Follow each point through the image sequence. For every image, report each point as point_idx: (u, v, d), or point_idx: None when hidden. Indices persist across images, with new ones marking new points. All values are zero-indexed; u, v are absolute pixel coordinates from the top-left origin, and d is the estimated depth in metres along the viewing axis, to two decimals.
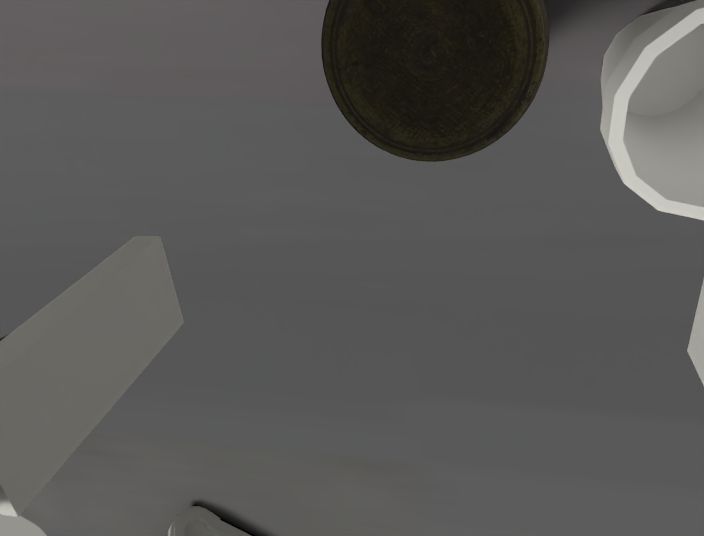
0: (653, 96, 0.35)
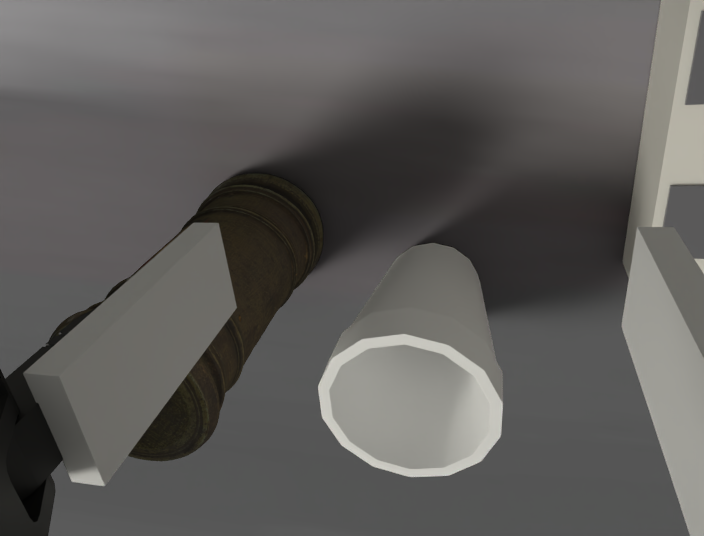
0: None
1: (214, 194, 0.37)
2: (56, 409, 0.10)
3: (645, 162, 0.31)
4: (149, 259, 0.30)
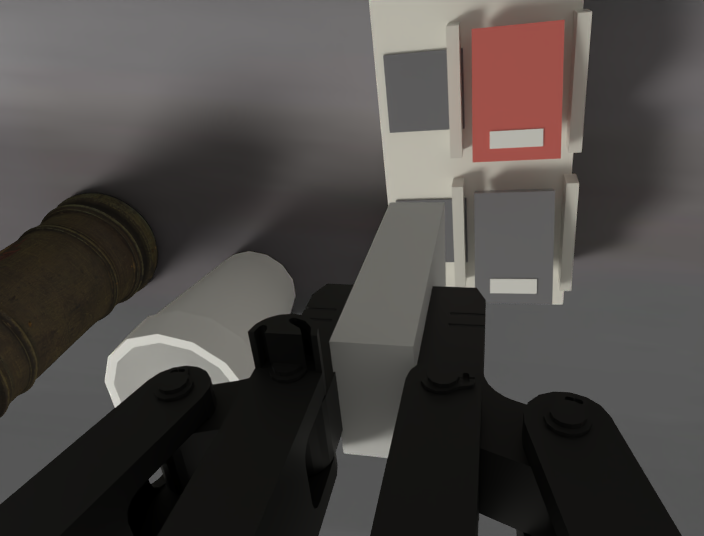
0: None
1: (49, 213, 0.42)
2: (354, 379, 0.10)
3: None
4: None
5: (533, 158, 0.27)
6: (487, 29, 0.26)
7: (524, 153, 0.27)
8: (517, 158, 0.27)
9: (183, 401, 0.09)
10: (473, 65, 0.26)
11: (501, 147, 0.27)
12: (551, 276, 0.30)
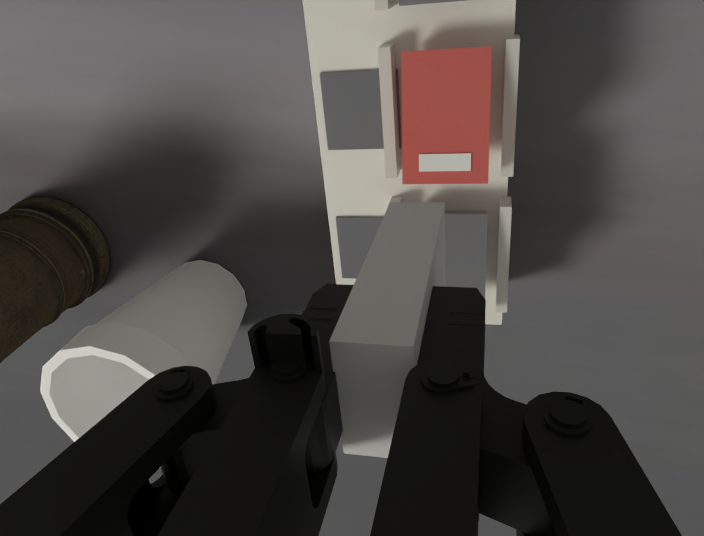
0: None
1: None
2: (354, 379, 0.10)
3: None
4: None
5: (461, 182, 0.27)
6: (416, 52, 0.26)
7: (452, 177, 0.27)
8: (446, 182, 0.27)
9: (183, 401, 0.09)
10: (403, 88, 0.26)
11: (430, 170, 0.27)
12: None
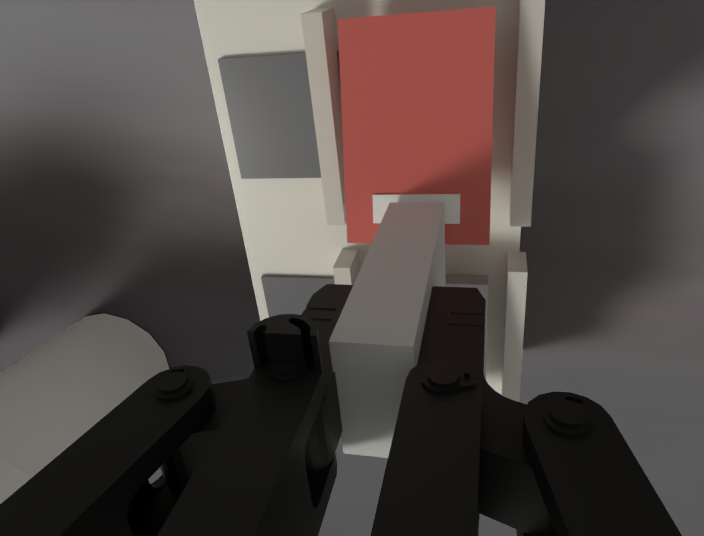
0: None
1: None
2: (354, 379, 0.10)
3: None
4: None
5: None
6: (364, 20, 0.15)
7: None
8: None
9: (183, 401, 0.09)
10: (343, 82, 0.15)
11: None
12: None
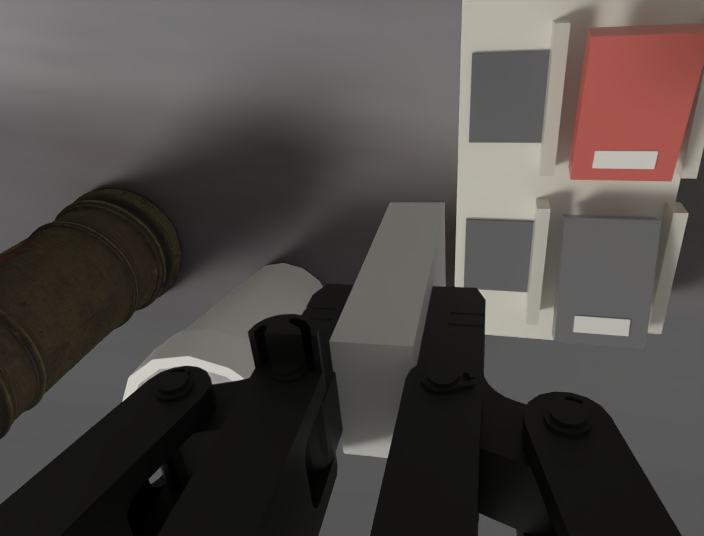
0: None
1: (66, 208, 0.38)
2: (354, 379, 0.10)
3: None
4: None
5: (640, 179, 0.24)
6: (611, 38, 0.21)
7: (631, 174, 0.24)
8: (622, 178, 0.24)
9: (183, 401, 0.09)
10: (587, 78, 0.22)
11: (606, 167, 0.24)
12: (647, 317, 0.26)
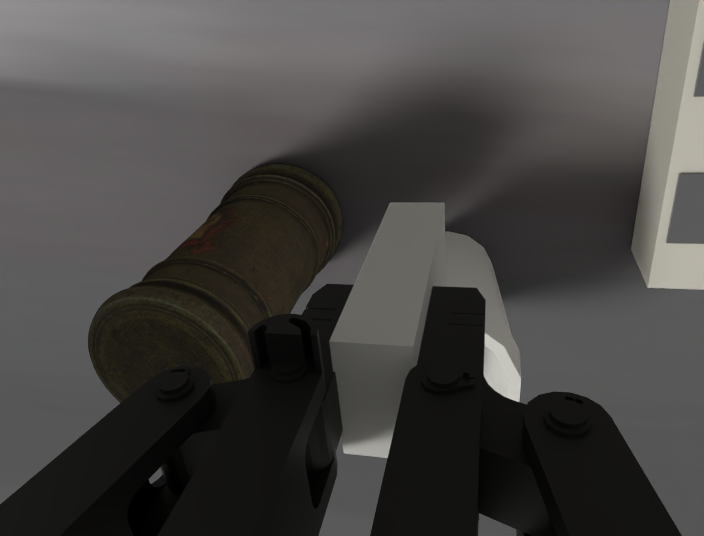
0: None
1: (239, 184, 0.39)
2: (354, 379, 0.10)
3: (654, 152, 0.33)
4: (182, 243, 0.32)
5: None
6: None
7: None
8: None
9: (183, 401, 0.09)
10: None
11: None
12: None
